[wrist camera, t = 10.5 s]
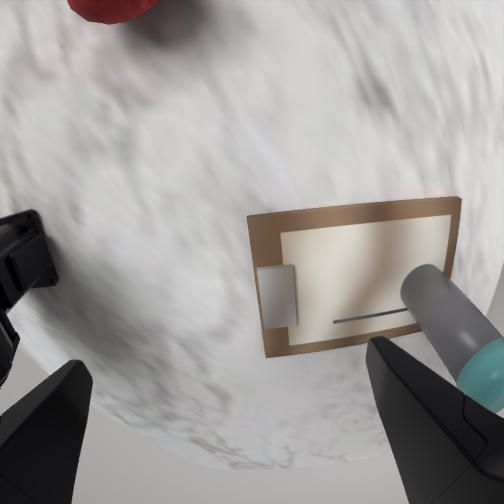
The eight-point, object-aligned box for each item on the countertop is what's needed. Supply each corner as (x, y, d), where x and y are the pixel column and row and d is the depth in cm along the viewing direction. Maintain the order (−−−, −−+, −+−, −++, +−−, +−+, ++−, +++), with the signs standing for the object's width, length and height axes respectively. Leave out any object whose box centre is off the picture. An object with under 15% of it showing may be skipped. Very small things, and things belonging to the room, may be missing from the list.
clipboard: (265, 353, 26) (266, 362, 25) (247, 215, 20) (247, 221, 19) (435, 322, 25) (441, 330, 24) (457, 196, 20) (465, 200, 19)
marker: (404, 316, 24) (471, 429, 13) (394, 278, 22) (476, 396, 11) (447, 292, 23) (526, 390, 12) (441, 252, 21) (538, 350, 10)
